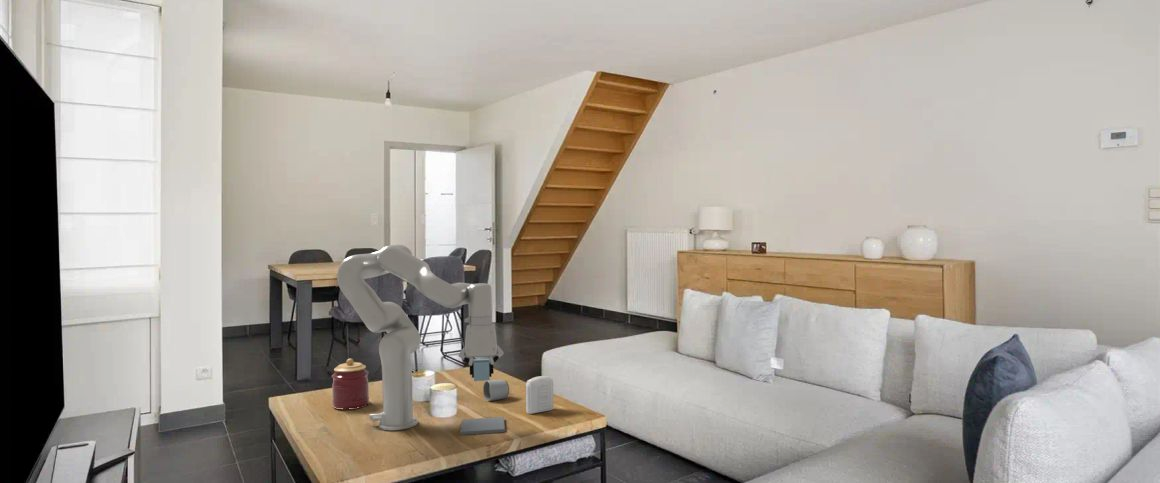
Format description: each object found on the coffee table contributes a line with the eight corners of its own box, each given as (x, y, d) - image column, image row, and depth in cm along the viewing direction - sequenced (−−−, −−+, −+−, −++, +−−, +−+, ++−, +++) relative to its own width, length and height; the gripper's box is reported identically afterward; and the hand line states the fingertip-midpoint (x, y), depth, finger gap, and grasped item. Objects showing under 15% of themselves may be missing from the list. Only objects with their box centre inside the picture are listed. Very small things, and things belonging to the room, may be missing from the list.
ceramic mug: (510, 399, 238) (510, 379, 238) (491, 403, 234) (490, 382, 234) (498, 394, 247) (497, 374, 247) (479, 397, 242) (478, 377, 242)
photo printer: (549, 407, 227) (548, 373, 227) (555, 410, 223) (554, 375, 223) (524, 412, 221) (523, 377, 221) (530, 415, 218) (529, 379, 217)
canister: (373, 406, 232) (372, 359, 232) (337, 412, 225) (335, 364, 225) (364, 398, 243) (362, 353, 243) (328, 404, 236) (327, 358, 235)
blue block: (473, 381, 202) (473, 362, 202) (474, 377, 207) (473, 359, 207) (489, 380, 203) (489, 361, 203) (489, 376, 208) (489, 358, 208)
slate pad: (460, 434, 198) (460, 431, 198) (462, 422, 211) (461, 419, 211) (504, 432, 200) (504, 428, 200) (503, 419, 213) (503, 416, 213)
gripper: (453, 324, 200) (454, 380, 200) (507, 321, 202) (508, 377, 203) (454, 320, 207) (455, 375, 208) (506, 318, 210) (507, 372, 210)
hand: (481, 375), depth 205 cm, fingers closed on blue block, 5 cm apart
